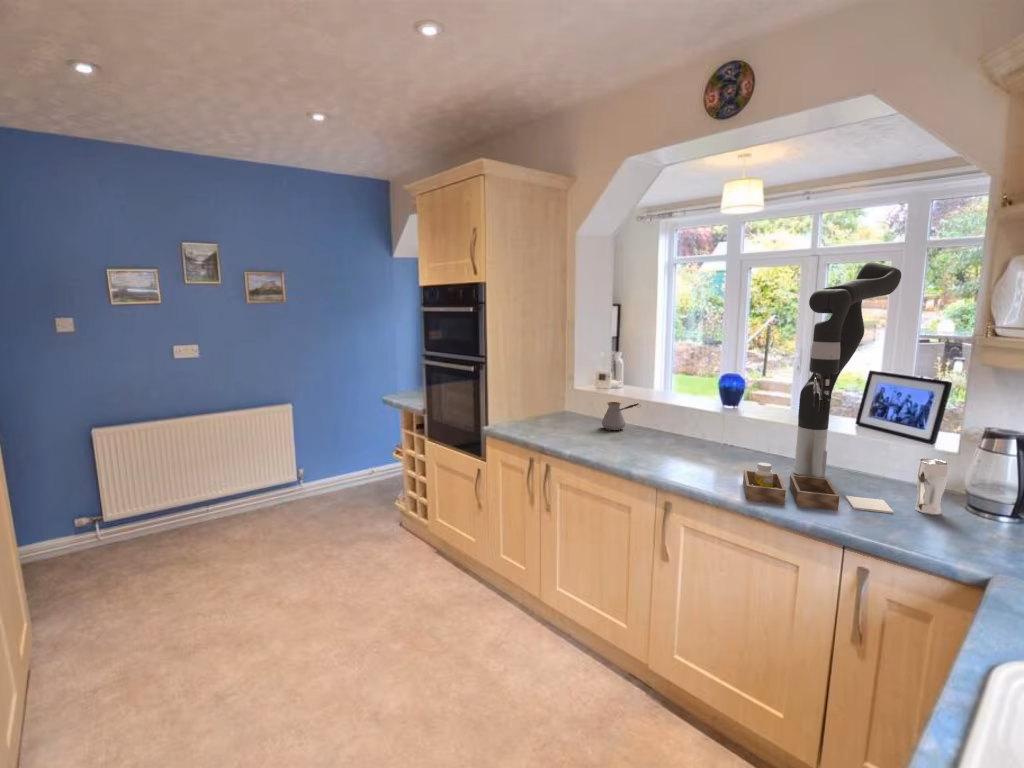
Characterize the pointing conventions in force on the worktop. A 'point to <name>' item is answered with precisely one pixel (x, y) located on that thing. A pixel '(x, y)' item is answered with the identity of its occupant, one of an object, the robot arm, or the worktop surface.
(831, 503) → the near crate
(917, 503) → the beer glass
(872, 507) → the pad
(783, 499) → the far crate
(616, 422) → the coffee pot
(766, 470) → the supplement bottle
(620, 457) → the worktop surface
